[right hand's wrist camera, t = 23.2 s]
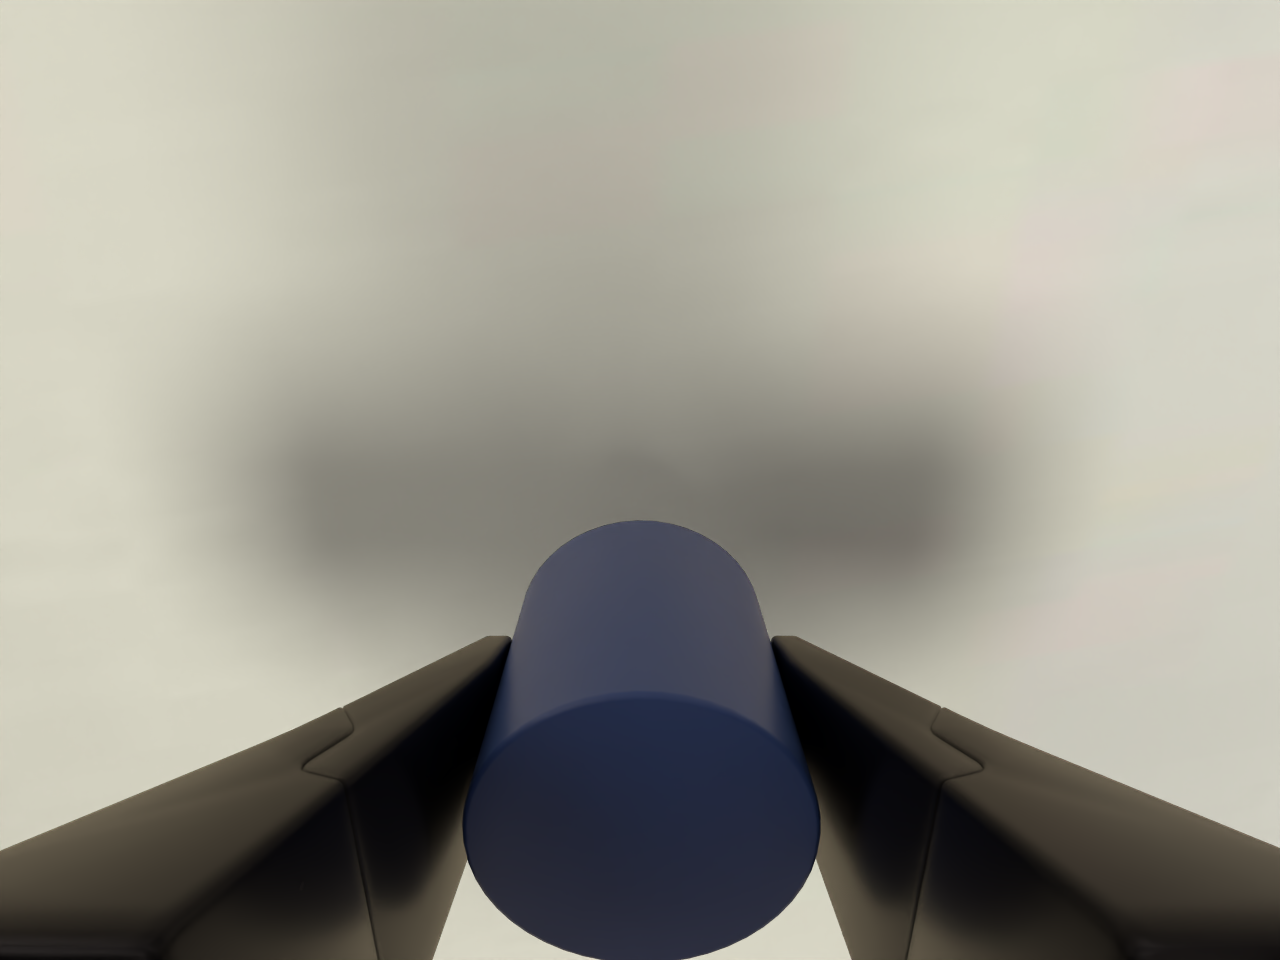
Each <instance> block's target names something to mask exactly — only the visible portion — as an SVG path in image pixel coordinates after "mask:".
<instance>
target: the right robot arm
mask: <svg viewBox="0 0 1280 960" xmlns="http://www.w3.org/2000/svg"><path fill="white" fill-rule="evenodd" d="M511 643H512V639H511V638H510V637H509V636H487V637H484V638H482V639H480V640H478V641H476V642H474V643H472V644H470V645H468V646H466V647H464V648H462V649H460V650H458V651H456V652H454V653H452V654H450V655H448V656H446V657H443V658H441V659H439V660H437V661H435V662H433V663H431V664H429V665H427V666H425V667H423V668H421V669H419V670H417V671H415V672H413V673H411V674H409V675H407V676H405V677H403V678H401V679H399V680H396V681H394V682H392V683H390V684H388V685H386V686H384V687H382V688H380V689H378V690H376V691H374V692H372V693H370V694H368V695H366V696H364V697H362V698H360V699H358V700H356V701H354V702H352V703H349V704H347V705H345V706H344V707H343V708H337V709H335V710H333V711H331V712H329V713H327V714H325V715H323V716H321V717H319V718H317V719H314V720H312V721H310V722H308V723H306V724H304V725H302V726H299V727H297V728H295V729H293V730H291V731H288V732H286V733H284V734H281V735H279V736H277V737H274V738H272V739H270V740H267V741H265V742H263V743H260V744H258V745H256V746H253V747H251V748H248V749H246V750H243V751H241V752H239V753H236V754H234V755H231V756H229V757H226V758H224V759H222V760H219V761H217V762H214V763H212V764H210V765H207V766H205V767H202V768H200V769H197V770H195V771H193V772H190V773H188V774H185V775H183V776H180V777H178V778H176V779H173V780H171V781H168V782H166V783H163V784H161V785H159V786H156V787H154V788H151V789H149V790H146V791H144V792H142V793H139V794H137V795H134V796H132V797H130V798H127V799H125V800H122V801H120V802H117V803H115V804H113V805H110V806H108V807H105V808H103V809H100V810H98V811H96V812H93V813H91V814H88V815H86V816H83V817H81V818H79V819H76V820H74V821H71V822H69V823H66V824H64V825H62V826H59V827H57V828H54V829H52V830H50V831H47V832H45V833H42V834H40V835H37V836H35V837H33V838H30V839H28V840H25V841H23V842H20V843H18V844H16V845H13V846H11V847H8V848H6V849H3V850H1V851H0V960H432V959H433V957H434V954H435V951H436V948H437V945H438V942H439V939H440V937H441V934H442V931H443V928H444V925H445V922H446V919H447V917H448V914H449V911H450V908H451V905H452V902H453V899H454V896H455V894H456V891H457V888H458V885H459V882H460V879H461V876H462V874H463V871H464V868H465V865H466V862H467V855H466V851H465V847H464V843H463V831H462V819H463V809H464V804H465V800H466V797H467V793H468V790H469V786H470V783H471V779H472V776H473V772H474V769H475V766H476V762H477V759H478V755H479V752H480V749H481V745H482V742H483V738H484V735H485V732H486V728H487V725H488V721H489V718H490V715H491V711H492V708H493V704H494V701H495V698H496V694H497V691H498V687H499V684H500V680H501V677H502V674H503V670H504V667H505V663H506V660H507V657H508V653H509V650H510V646H511ZM771 646H772V649H773V652H774V656H775V659H776V662H777V666H778V669H779V672H780V676H781V679H782V682H783V686H784V689H785V692H786V695H787V699H788V702H789V705H790V709H791V712H792V715H793V719H794V722H795V725H796V728H797V732H798V735H799V738H800V742H801V745H802V748H803V752H804V755H805V758H806V761H807V765H808V768H809V771H810V775H811V778H812V781H813V785H814V788H815V791H816V795H817V798H818V804H819V809H820V814H821V835H820V841H819V847H818V852H817V856H816V860H817V863H818V866H819V869H820V872H821V874H822V877H823V880H824V883H825V886H826V888H827V891H828V894H829V897H830V900H831V903H832V905H833V908H834V911H835V914H836V917H837V920H838V922H839V925H840V928H841V931H842V934H843V937H844V939H845V942H846V945H847V948H848V951H849V954H850V956H851V959H852V960H1280V848H1278V847H1276V846H1274V845H1271V844H1269V843H1266V842H1264V841H1261V840H1259V839H1256V838H1254V837H1252V836H1249V835H1247V834H1244V833H1242V832H1239V831H1237V830H1234V829H1232V828H1230V827H1227V826H1225V825H1222V824H1220V823H1217V822H1215V821H1212V820H1210V819H1208V818H1205V817H1203V816H1200V815H1198V814H1195V813H1193V812H1191V811H1188V810H1186V809H1183V808H1181V807H1178V806H1176V805H1173V804H1171V803H1169V802H1166V801H1164V800H1161V799H1159V798H1156V797H1154V796H1151V795H1149V794H1147V793H1144V792H1142V791H1139V790H1137V789H1134V788H1132V787H1129V786H1127V785H1125V784H1122V783H1120V782H1117V781H1115V780H1112V779H1110V778H1108V777H1105V776H1103V775H1100V774H1098V773H1095V772H1093V771H1090V770H1088V769H1086V768H1083V767H1081V766H1078V765H1076V764H1073V763H1071V762H1068V761H1066V760H1064V759H1061V758H1059V757H1056V756H1054V755H1051V754H1049V753H1046V752H1044V751H1042V750H1039V749H1037V748H1034V747H1032V746H1029V745H1027V744H1025V743H1022V742H1020V741H1018V740H1015V739H1013V738H1010V737H1008V736H1006V735H1003V734H1001V733H999V732H996V731H994V730H992V729H990V728H987V727H985V726H983V725H981V724H979V723H977V722H974V721H972V720H970V719H968V718H966V717H964V716H961V715H959V714H957V713H955V712H953V711H951V710H949V709H947V708H941V707H940V706H939V705H937V704H935V703H933V702H931V701H929V700H926V699H924V698H922V697H920V696H918V695H916V694H914V693H912V692H910V691H908V690H906V689H904V688H902V687H900V686H898V685H896V684H893V683H891V682H889V681H887V680H885V679H883V678H881V677H879V676H877V675H875V674H873V673H871V672H869V671H867V670H865V669H863V668H860V667H858V666H856V665H854V664H852V663H850V662H848V661H846V660H844V659H842V658H840V657H838V656H836V655H834V654H832V653H830V652H828V651H825V650H823V649H821V648H819V647H817V646H815V645H813V644H811V643H809V642H807V641H805V640H803V639H801V638H799V637H796V636H774V637H773V638H772V639H771Z"/></svg>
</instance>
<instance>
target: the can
mask: <svg viewBox="0 0 1280 960" xmlns="http://www.w3.org/2000/svg"><path fill="white" fill-rule="evenodd" d="M462 831H463V843H464V847H465V851H466V855H467V859H468V863H469V865H470V867H471V870H472V872H473V874H474V877H475V879H476V881H477V882H478V884H479V885H480V887H481V888H482V890H483V892H484V893H485V895H486V896H487V897H488V898H489V899H490V901H491V902H492V903H493V904H494V905H495V906H496V908H497V909H498V910H499V911H501V912H502V913H503V914H504V915H505V916H506V917H507V918H508V919H509V920H511V921H512V922H513V923H515V924H516V925H517V926H519V927H520V928H522V929H523V930H524V931H526V932H527V933H529V934H531V935H533V936H535V937H536V938H538V939H540V940H542V941H544V942H546V943H548V944H551V945H553V946H555V947H558V948H560V949H562V950H565V951H568V952H572V953H575V954H578V955H581V956H585V957H590V958H595V959H600V960H682V959H689V958H693V957H696V956H700V955H704V954H708V953H711V952H714V951H717V950H719V949H722V948H725V947H728V946H730V945H732V944H734V943H736V942H738V941H740V940H742V939H745V938H747V937H748V936H750V935H751V934H753V933H755V932H756V931H758V930H759V929H761V928H763V927H764V926H765V925H767V924H768V923H769V922H770V921H772V920H773V919H774V918H775V917H777V916H778V915H779V914H780V913H781V912H782V911H783V910H784V909H785V908H786V907H787V906H788V905H789V904H790V903H791V902H792V901H793V899H794V898H795V897H796V895H797V894H798V893H799V891H800V890H801V888H802V887H803V885H804V884H805V882H806V880H807V878H808V876H809V874H810V872H811V870H812V867H813V864H814V862H815V859H816V856H817V852H818V847H819V841H820V835H821V814H820V809H819V804H818V798H817V795H816V791H815V788H814V785H813V781H812V778H811V775H810V771H809V768H808V765H807V761H806V758H805V755H804V752H803V748H802V745H801V742H800V738H799V735H798V732H797V728H796V725H795V722H794V719H793V715H792V712H791V709H790V705H789V702H788V699H787V695H786V692H785V689H784V686H783V682H782V679H781V676H780V672H779V669H778V666H777V662H776V659H775V656H774V652H773V649H772V646H771V643H770V639H769V636H768V633H767V629H766V626H765V623H764V619H763V616H762V613H761V610H760V606H759V603H758V600H757V597H756V594H755V591H754V589H753V586H752V584H751V582H750V580H749V579H748V577H747V575H746V573H745V572H744V571H743V569H742V568H741V567H740V565H739V564H738V563H737V561H736V560H735V559H734V558H733V557H732V556H731V555H730V554H729V553H728V552H727V551H725V550H724V549H723V548H721V547H720V546H719V545H717V544H716V543H715V542H713V541H712V540H710V539H708V538H706V537H705V536H703V535H701V534H699V533H696V532H694V531H692V530H689V529H687V528H684V527H680V526H677V525H673V524H670V523H663V522H656V521H626V522H618V523H613V524H609V525H604V526H601V527H598V528H595V529H593V530H590V531H587V532H585V533H583V534H581V535H579V536H577V537H575V538H573V539H572V540H570V541H569V542H567V543H566V544H564V545H563V546H561V547H560V548H559V549H558V550H557V551H555V552H554V553H553V554H552V555H551V556H550V557H549V558H548V559H547V560H546V561H545V563H544V564H543V565H542V566H541V567H540V568H539V570H538V572H537V573H536V575H535V576H534V578H533V579H532V581H531V583H530V586H529V588H528V590H527V592H526V595H525V599H524V602H523V606H522V609H521V612H520V616H519V619H518V623H517V626H516V629H515V633H514V636H513V640H512V643H511V646H510V650H509V653H508V657H507V660H506V663H505V667H504V670H503V674H502V677H501V680H500V684H499V687H498V691H497V694H496V698H495V701H494V704H493V708H492V711H491V715H490V718H489V721H488V725H487V728H486V732H485V735H484V738H483V742H482V745H481V749H480V752H479V755H478V759H477V762H476V766H475V769H474V772H473V776H472V779H471V783H470V786H469V790H468V793H467V797H466V800H465V804H464V809H463V819H462Z"/></svg>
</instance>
